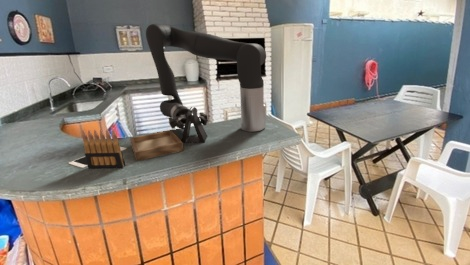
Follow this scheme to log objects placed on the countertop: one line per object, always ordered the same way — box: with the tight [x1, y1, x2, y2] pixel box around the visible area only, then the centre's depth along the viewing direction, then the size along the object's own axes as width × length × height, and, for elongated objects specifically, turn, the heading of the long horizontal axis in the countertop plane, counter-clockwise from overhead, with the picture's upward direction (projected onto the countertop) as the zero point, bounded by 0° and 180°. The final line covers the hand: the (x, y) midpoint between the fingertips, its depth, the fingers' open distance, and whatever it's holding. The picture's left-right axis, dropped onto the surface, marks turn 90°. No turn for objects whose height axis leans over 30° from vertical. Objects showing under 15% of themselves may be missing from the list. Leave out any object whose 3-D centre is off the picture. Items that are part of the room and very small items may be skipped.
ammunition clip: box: [81, 129, 126, 170], centre depth 72 cm, size 11×2×12 cm, turn 87°
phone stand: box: [180, 106, 208, 144], centre depth 91 cm, size 9×6×12 cm, turn 86°
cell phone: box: [68, 146, 128, 169], centre depth 83 cm, size 8×16×1 cm, turn 152°
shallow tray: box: [129, 129, 184, 162], centre depth 87 cm, size 15×15×3 cm
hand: (194, 124), depth 89 cm, fingers open, 8 cm apart
